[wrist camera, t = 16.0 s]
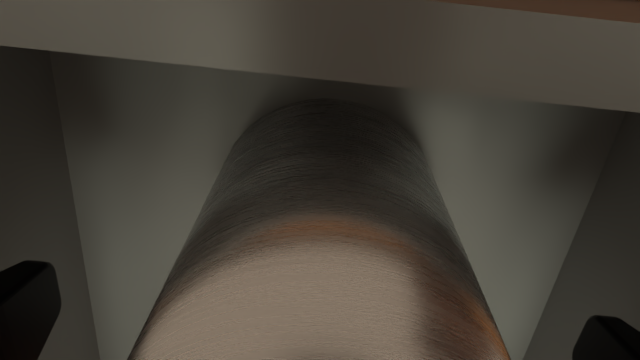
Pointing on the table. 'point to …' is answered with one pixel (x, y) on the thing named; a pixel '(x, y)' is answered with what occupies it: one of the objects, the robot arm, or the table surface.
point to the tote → (323, 83)
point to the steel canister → (322, 252)
